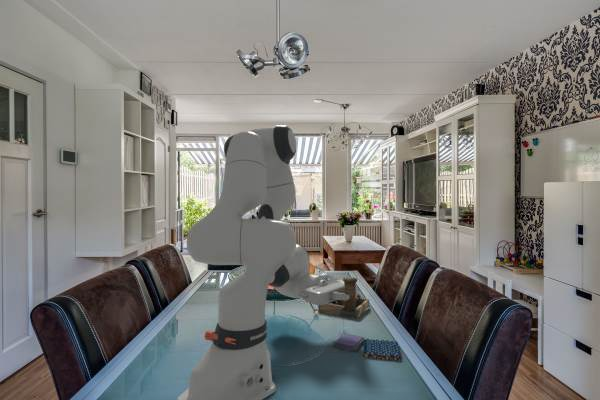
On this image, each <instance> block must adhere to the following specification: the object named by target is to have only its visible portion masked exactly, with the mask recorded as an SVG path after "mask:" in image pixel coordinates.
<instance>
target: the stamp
mask: <svg viewBox="0 0 600 400" xmlns="http://www.w3.org/2000/svg"><path fill="white" fill-rule="evenodd" d="M342 279H343V281H344V293H347V294H350V299H349V300H347V301H345V300H344V308H343V309H341V310H340V315H341V317H345V316H347V317H346V318H351V317H353V318H352V319H356V318H355V317H356V316H357V315H358V314H359V308H356V291H357V290H356V289H357V288H356V287H357V286H356V284H357V283H358V278H357V277H354V276H353V277H352V276H344V277H343V278H342ZM340 315H339V316H340Z"/></svg>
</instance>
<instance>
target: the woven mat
mask: <svg viewBox="0 0 600 400" xmlns="http://www.w3.org/2000/svg"><path fill="white" fill-rule="evenodd" d="M398 344H399V342H398V341H397V340H396V341H395V340H384V339H370V338H365V340H364V343H363V355H362V356H363V357H364V358H371V359H372V358H373V359H376V358H377V359H381V360H390V359H392V360H393V359H394V361H398V360H397V359H401V360H402V359H403V355H402V352H401V348H400V345H399V346H398Z"/></svg>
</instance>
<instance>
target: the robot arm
mask: <svg viewBox="0 0 600 400" xmlns="http://www.w3.org/2000/svg"><path fill="white" fill-rule="evenodd" d="M223 153H224V157H225V162H224V173H223V181H222V187H221V193H220V196H219V199H218V201H216V202H217V203H216V204H215V206H214V207H213V208H212V209H211V211H209V213H208V214H207V215H205V216H204V217H202V218H201V219H200V220H197V221H196V222H194V224H193V225H192V226H191V228H190V229H189V231H188V232H187V236H186V248H187V252H188V254H189V255H190V257H191V259H193V261H194V262H197V263H202V264H204V265H205V264H207V265H213V266H243V267H244V268H245V272H243V274H241V275H240V276H238V277H236V278H233V279H232V280H230V281H228V282H227V283H225V284H224V285H223V286H222V287H221V289H220V290H219V293H218V299H217V300H218V301H217V303H218V305H217V308H218V309H217V310H218V317H217V318H218V319H217V320H218V321H217V323H216V326H215V329H214V331H211V330H206V331H205V333H204V339H205V340H206V341H210V342H212V343H211V344H210V346H209V348H207V350H206V351H205V353H204V354H203V356H202V357H201V359H200V360H199V361H198V363H197V364H196V366H194V368H193V369H192V371H191V373H190V376H189V381H188V383H189V384H188V387H187V389H185V391H183V392H182V393H181V394H179V395H178V396H177V398H176V400H264V399H265V398H267V397H269V396H271V395H272V394H274V393H275V392H276V390H277V389H276V384H275V382H274V381H273V378H272V364H271V363H272V362H271V353H270V351H269V348H268V344H267V341H266V339H267V338H268V337H267V336H268V324H267V323H268V322H267V320H266V301H267V294H268V288H269V286H271V287H272V288H273V287H274V289H275V290H276V291H277V292H278V293H280V295H284V296H286V297H288V298H293V299H301V300H303V301H305V302H306V303H309V304H313V305H314V306H315V305H316V306H318V305H323V304H326V303H329V302H331V301H334V300H345V301H347V300H349V299H350V294H347V293H344V281H343V278H339V277H335V276H334V275H331V274H325V275H324V274H313V273H310V270H311V265H310V264H311V263H310V262H311V261H310V255H309V253H308V251H307V249H305V247H304V246H302V245H300V244H297V236H296V232H295V230H294V228H293V227H292V226H291V225H290V223H289V222H286V221H284V220H283V221H281V220H282V218H283V217H284V216H285V215H286V214H287V212H289V210H290V209H291V208H292V207H293V205H294V204H295V201H296V197H297V195H296V185H295V181H294V177H293V173H292V170H291V166H290V163H291V160H292V159H294V156H295V155H296V153H297V139H296V136H295V134H294V132H293V130H292V129H291V128H290V127H289V126H287V125H282V124H281V125H275V126H269V127H263V128H254V129H250V130H247V131H241V132H238V133H236V134H232V135H231V136H229V137H228V138H226V140H225V142H224V145H223ZM259 206H260V208H259V209H258V211H257V218H243V216H244V215H246V214H247V213H248V212H250V211H253V210H254V209H256V208H258V207H259ZM358 294H359V292H358V290H356V297H357V296H358ZM357 298H358V297H357Z"/></svg>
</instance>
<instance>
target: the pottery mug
mask: <svg viewBox="0 0 600 400" xmlns="http://www.w3.org/2000/svg"><path fill="white" fill-rule="evenodd" d="M356 298H358V299H359V300H358V301H357V302H356V308H357V307H358V306H360V305H361V304H362V302H361V300H362V299H361V296H360V294H359V293H358V296H357V297H356ZM337 301H338V302H339V303H340V304H339V305H340V306H344V300H337Z"/></svg>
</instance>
